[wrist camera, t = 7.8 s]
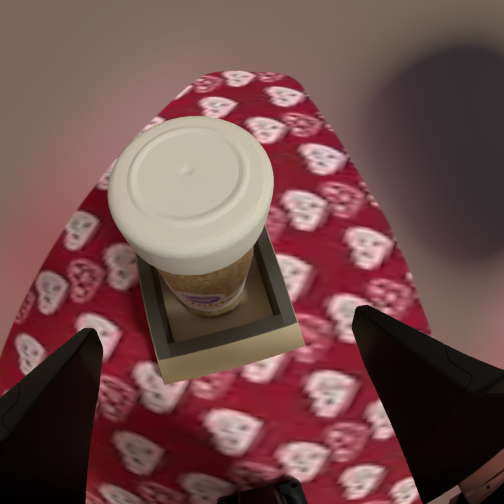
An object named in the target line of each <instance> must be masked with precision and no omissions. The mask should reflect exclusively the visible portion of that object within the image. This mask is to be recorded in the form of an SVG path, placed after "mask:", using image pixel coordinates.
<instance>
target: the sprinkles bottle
mask: <svg viewBox="0 0 504 504" xmlns="http://www.w3.org/2000/svg"><path fill="white" fill-rule="evenodd" d="M273 187H274V177H273V171H272V166H271V163H270V160H269V158H268V156H267V154H266V152H265V150H264V149H263V147H262V146H261V145H260V143H259V142H258V141H257V140H256V139H255V138H254V137H253V136H252V135H251V134H249V133H248V132H247V131H245V130H244V129H242V128H241V127H239V126H237V125H235V124H232V123H230V122H227V121H225V120H221V119H217V118H212V117H205V116H188V117H180V118H176V119H172V120H168V121H165V122H162V123H160V124H157V125H155V126H153V127H151V128H150V129H148V130H146V131H145V132H143V133H142V134H140V135H139V136H138V137H136V138H135V139H134V140H133V141H132V142H131V143H130V144H129V145H128V146H127V147H126V148H125V149H124V151H123V152H122V153H121V155H120V156H119V158H118V159H117V161H116V163H115V165H114V167H113V169H112V172H111V175H110V179H109V184H108V204H109V209H110V212H111V215H112V218H113V220H114V222H115V224H116V226H117V227H118V229H119V231H120V232H121V233H122V235H123V236H124V238H125V239H126V241H127V242H128V243H129V245H130V246H131V247H132V248H133V249H134V251H135V252H136V253H137V254H138V255H139V256H140V257H141V258H142V259H143V260H145V261H146V262H147V263H149V264H150V265H152V266H154V267H155V268H156V269H157V271H158V272H159V273H160V274H161V275H162V277H163V278H164V280H165V282H166V283H167V285H168V286H169V287H170V289H171V290H172V291H173V292H174V294H175V295H176V296H177V297H178V298H179V299H180V300H181V301H182V302H183V304H184V306H185V307H186V308H187V309H188V310H189V311H190V312H192V313H193V314H195V315H197V316H200V317H203V318H211V319H215V318H219V317H222V316H224V315H226V314H228V313H229V312H231V311H232V310H233V309H235V307H236V306H237V305H238V303H239V302H240V300H241V297H242V294H243V288H244V285H245V281H246V277H247V274H248V270H249V267H250V263H251V260H252V255H253V245H254V244H255V243H256V241H257V239H258V238H259V236H260V234H261V232H262V230H263V228H264V225H265V222H266V219H267V215H268V211H269V208H270V204H271V199H272V194H273Z"/></svg>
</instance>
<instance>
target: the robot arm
mask: <svg viewBox="0 0 504 504" xmlns="http://www.w3.org/2000/svg"><path fill="white" fill-rule="evenodd" d="M352 331H353V334H354V337H355V340H356V342H357V345H358V348H359V351H360V354H361V357H362V360H363V363H364V365H365V367H366V370H367V372H368V374H369V376H370V378H371V380H372V383H373V385H374V387H375V389H376V391H377V393H378V396H379V398H380V400H381V402H382V404H383V407H384V409H385V411H386V414H387V416H388V418H389V420H390V423H391V425H392V427H393V430H394V432H395V434H396V437H397V439H398V441H399V444H400V446H401V449H402V451H403V454H404V456H405V459H406V461H407V464H408V466H409V469H410V472H411V474H412V477H413V479H414V482H415V485H416V487H417V490H418V493H419V495H420V498H421V501H422V503H423V504H427V503H429V502H430V501H432V500H434V499H436V498H437V497H439V496H441V495H442V494H444V493H445V492H447V491H448V490H450V489H452V488H453V487H455V486H456V485H458V486H459V488H460V490H461V493H459V494H458V495H456V496H455V497H453V498H452V499H450V502H449V504H504V370H502V369H499V368H497V367H494V366H492V365H490V364H487V363H485V362H482V361H480V360H477V359H475V358H473V357H470V356H468V355H466V354H463V353H461V352H459V351H457V350H455V349H453V348H451V347H449V346H447V345H444V344H443V343H442V342H439V341H438V340H436V339H434V338H432V337H430V336H428V335H426V334H424V333H422V332H420V331H418V330H416V329H414V328H412V327H410V326H408V325H406V324H404V323H402V322H400V321H398V320H397V319H395V318H393V317H391V316H389V315H387V314H385V313H383V312H381V311H379V310H377V309H375V308H373V307H371V306H369V305H362V306H358V307H357V308H356V309H355V313H354V318H353V322H352ZM102 358H103V346H102V344H101V341H100V339H99V337H98V334H97V332H96V330H95V329H94V328H83V329H82V330H81V331H79V332H78V333H77V334H76V335H74V336H73V337H72V338H71V339H70V340H68V341H67V342H66V343H65V344H63V345H62V346H61V347H60V348H58V349H57V350H56V351H55V352H54V353H52V354H51V355H50V356H49V357H48V358H46V359H45V360H44V361H43V362H42V363H40V364H39V365H38V366H37V367H36V368H34V369H33V370H32V371H31V372H30V373H29V374H27V375H26V376H25V377H24V378H23V379H22V380H20V383H19V382H18V383H17V384H16V385H15V386H14V387H12V388H11V389H10V390H9V391H8V392H7V393H5V394H4V395H3V396H2V397H0V504H86V482H87V469H88V459H89V450H90V442H91V435H92V428H93V421H94V415H95V409H96V404H97V398H98V393H99V386H100V377H101V367H102ZM293 483H296V485H294V486H291V484H293ZM221 502H226V504H308V503H307V500H306V498H305V495H304V492H303V489H302V486H301V484H300V482H299V480H298V479H290V480H287V481H284V482H281V483H277V484H274V485H272V484H269V485H266V486H262V487H259V488H255V489H251V490H247V491H243V492H240V493H239V494H235V495H230V496H225V497H221V498H219V499H217V504H221Z"/></svg>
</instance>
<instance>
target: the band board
mask: <svg viewBox="0 0 504 504" xmlns="http://www.w3.org/2000/svg"><path fill="white" fill-rule="evenodd" d="M134 252H135V251H134ZM135 258H136V264H137V270H138V276H139V282H140V287H141V292H142V297H143V302H144V307H145V312H146V316H147V321H148V325H149V330H150V334H151V338H152V342H153V346H154V350H155V354H156V357H157V361H158V365H159V368H160V372H161V375H162V379H163V382H164V385H165V384H170V383H175V382H179V381H184V380H188V379H193V378H197V377H201V376H205V375H210V374H214V373H217V372H221V371H225V370H229V369H233V368H236V367H240V366H243V365H247V364H250V363H254V362H257V361H260V360H264V359H267V358H270V357H273V356H276V355H279V354H282V353H285V352H289V351H291V350H294V349H297V348H300V347H303V346H305V343H304V340H303V337H302V333H301V330H300V327H299V324H298V321H297V318H296V315H295V312H294V309H293V306H292V303H291V300H290V297H289V293H288V290H287V287H286V284H285V281H284V278H283V275H282V272H281V269H280V266H279V264H278V261H277V258H276V255H275V252H274V249H273V246H272V243H271V240H270V237H269V234H268V231H267V228H266V225H264V228H263V230H262V232H261V234H260V236H259V238H258V239H257V241H256V243H255V244H254V245H253V255H252V260H251V263H250V267H249V270H248V274H247V277H246V281H245V285H244V288H243V294H242V297H241V300H240V302H239V303H238V305H237V306H236V307H235V309H233V310H232V311H231V312H229V313H228V314H226V315H224V316H222V317H219V318H215V319H211V318H203V317H200V316H197V315H195V314H193V313H192V312H190V311H189V310H188V309H187V308H186V307H185V306H184V304H183V302H182V301H181V300H180V299H179V298H178V297H177V296H176V295H175V294H174V292H173V291H172V290H171V289H170V287H169V286H168V285H167V283H166V282H165V280H164V278H163V277H162V275H161V274H160V273H159V272H158V271H157V269H156V268H155V267H154V266H152V265H150V264H149V263H147V262H146V261H145V260H143V259H142V258H141V257H140V256H139V255H138V254H137V253H136V252H135Z"/></svg>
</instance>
